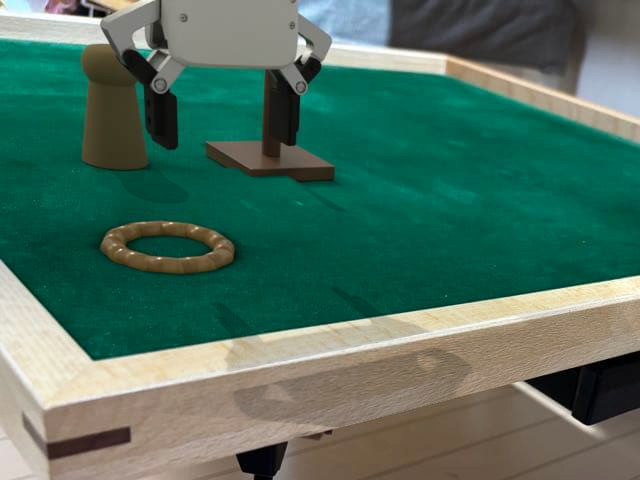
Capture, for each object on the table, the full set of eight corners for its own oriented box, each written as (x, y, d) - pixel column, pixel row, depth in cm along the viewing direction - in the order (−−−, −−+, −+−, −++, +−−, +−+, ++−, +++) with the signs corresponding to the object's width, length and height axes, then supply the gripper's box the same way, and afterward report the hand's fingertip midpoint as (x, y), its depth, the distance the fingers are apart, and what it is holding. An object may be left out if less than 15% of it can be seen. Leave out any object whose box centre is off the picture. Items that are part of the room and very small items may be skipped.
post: (250, 183, 90) (254, 56, 84) (205, 155, 96) (206, 33, 90) (334, 179, 97) (343, 61, 91) (287, 153, 103) (293, 40, 97)
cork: (154, 157, 92) (152, 46, 86) (140, 173, 86) (137, 56, 81) (91, 148, 90) (85, 35, 85) (73, 163, 85) (66, 44, 80)
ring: (133, 288, 64) (132, 268, 63) (82, 242, 69) (81, 223, 68) (255, 274, 70) (256, 255, 69) (200, 232, 76) (200, 215, 75)
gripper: (307, -95, 68) (299, 129, 76) (70, -136, 56) (90, 132, 64) (362, -83, 64) (348, 153, 72) (118, -125, 52) (133, 161, 60)
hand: (226, 143), depth 68 cm, fingers open, 9 cm apart
